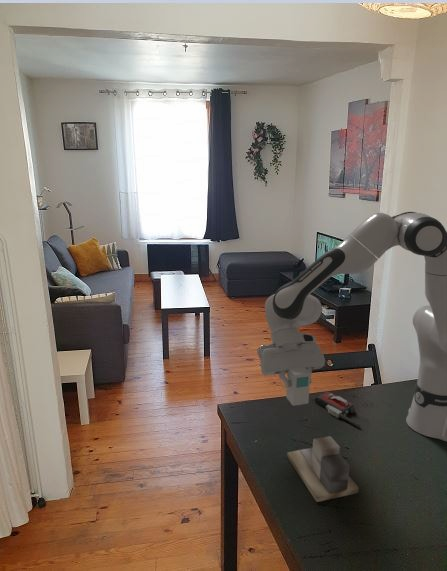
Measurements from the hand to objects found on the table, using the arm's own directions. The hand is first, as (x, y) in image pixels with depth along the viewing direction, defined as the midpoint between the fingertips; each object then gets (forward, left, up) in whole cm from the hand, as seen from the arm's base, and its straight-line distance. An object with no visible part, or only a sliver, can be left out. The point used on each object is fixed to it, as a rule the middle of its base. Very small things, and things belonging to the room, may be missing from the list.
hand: (299, 385), depth 126 cm
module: (0, -1, -5) cm, 5 cm away
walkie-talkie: (-22, -10, -19) cm, 31 cm away
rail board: (0, +16, -19) cm, 24 cm away
